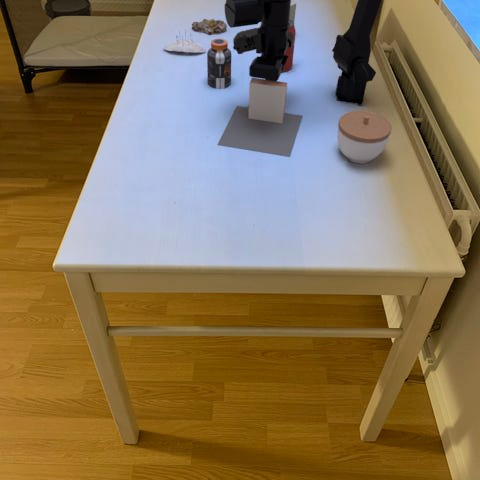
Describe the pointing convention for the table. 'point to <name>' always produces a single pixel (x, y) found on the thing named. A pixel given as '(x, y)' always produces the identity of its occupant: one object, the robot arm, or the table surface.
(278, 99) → the tile
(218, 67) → the pill bottle
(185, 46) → the pincushion
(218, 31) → the mineral rock
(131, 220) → the table surface
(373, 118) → the lidded jar
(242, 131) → the mat
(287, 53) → the beer can
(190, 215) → the table surface
